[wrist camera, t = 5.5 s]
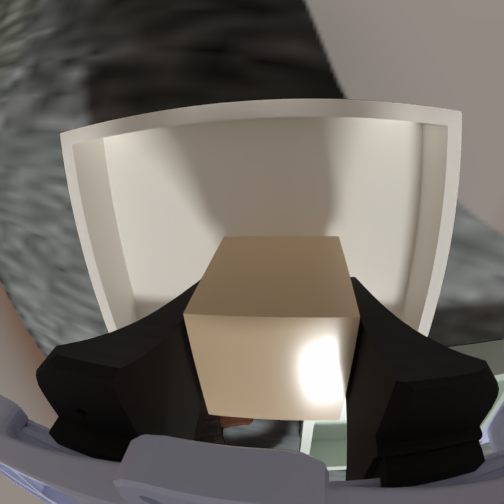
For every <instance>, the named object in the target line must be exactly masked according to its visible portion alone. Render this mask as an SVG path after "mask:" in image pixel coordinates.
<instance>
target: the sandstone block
mask: <svg viewBox="0 0 504 504" xmlns="http://www.w3.org/2000/svg"><path fill="white" fill-rule="evenodd" d="M183 315H184V320H185V324H186V328H187V333H188V337H189V341H190V345H191V349H192V354H193V358H194V362H195V365H196V369H197V373H198V377H199V381H200V385H201V388H202V392H203V396H204V399H205V403H206V406H207V410H208V413H209V414H210V415H219V416H229V417H240V418H254V419H271V420H339V419H340V415H341V411H342V407H343V403H344V399H345V394H346V390H347V385H348V381H349V376H350V371H351V366H352V361H353V356H354V351H355V345H356V339H357V334H358V328H359V321H360V314H359V310H358V306H357V302H356V298H355V294H354V290H353V286H352V282H351V278H350V275H349V271H348V267H347V264H346V260H345V256H344V253H343V249H342V246H341V242H340V239H339V236H241V237H223V239H222V241H221V243H220V245H219V246H218V248H217V250H216V252H215V254H214V256H213V258H212V259H211V261H210V263H209V265H208V267H207V269H206V271H205V273H204V275H203V276H202V278H201V280H200V282H199V284H198V286H197V288H196V290H195V292H194V294H193V295H192V297H191V299H190V301H189V303H188V305H187V307H186V309H185V311H184V313H183Z"/></svg>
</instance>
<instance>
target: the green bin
mask: <svg viewBox="0 0 504 504" xmlns="http://www.w3.org/2000/svg"><path fill="white" fill-rule="evenodd" d="M448 348H451V349H453V350H455V351H458V352H460V353H463V354H466V355H469V356H473V357H476V358H479V359H482V360H485V361H486V362H487V363H488V365H489V367H490V369H491V371H492V373H493V374H494V376H495V378H496V380H497V382H498V386H499V393H498V397H497V399H496V401H495V403H494V405H493V407H492V408H491V410H490V411H489V413H488V414H487V416H486V417H485V419H484V420H483V422H482V423H481V425H480V428H481V431H483V430H484V429H485V427H486V426H487V425H488V423H489V422H490V420H491V419H492V417H493V416H494V415H495V413H496V412H497V410H498V409H499V407H500V406H501V404H502V403H503V401H504V339H503V340H497V341H490V342H483V343H476V344H469V345H461V346H452V347H448ZM299 452H303V453H306V454H308V455H310V456H312V457H314V458H316V459H319V460H321V461H322V462H324V463H325V464H326V467H327V470H344V469H346V466H347V416H346V397H345V399H344V403H343V407H342V411H341V415H340V419H339V420H302V421H301V431H300V445H299Z"/></svg>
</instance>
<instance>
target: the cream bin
mask: <svg viewBox="0 0 504 504" xmlns="http://www.w3.org/2000/svg"><path fill="white" fill-rule="evenodd" d="M60 137H61V144H62V152H63V159H64V165H65V171H66V177H67V183H68V188H69V194H70V199H71V203H72V208H73V213H74V217H75V222H76V226H77V230H78V234H79V238H80V242H81V246H82V250H83V254H84V257H85V261H86V265H87V268H88V272H89V275H90V278H91V282H92V285H93V288H94V291H95V294H96V297H97V300H98V303H99V306H100V309H101V312H102V315H103V318H104V321H105V324H106V326H107V329H108V332H109V333H110V332H113V331H115V330H118V329H120V328H123V327H125V326H127V325H130V324H132V323H134V322H136V321H138V320H140V319H142V318H144V317H146V316H148V315H150V314H151V313H153V312H155V311H156V310H158V309H159V308H161V307H162V306H164V305H166V304H167V303H169V302H170V301H172V300H173V299H175V298H176V297H177V296H179V295H180V294H182V293H183V292H184V291H186V290H187V289H188V288H190V287H191V286H192V285H194V284H195V283H197V282H198V281H199V280H201V278H202V276H203V275H204V273H205V271H206V269H207V267H208V265H209V263H210V261H211V259H212V258H213V256H214V254H215V252H216V250H217V248H218V246H219V245H220V243H221V241H222V239H223V237H241V236H339V239H340V242H341V246H342V249H343V253H344V256H345V260H346V264H347V267H348V271H349V275H350V277H356V278H357V279H358V280H359V281H360V283H361V284H362V285H363V286H364V287H365V288H366V289H367V290H368V291H369V292H370V293H371V294H372V295H373V296H374V297H375V298H376V299H377V300H378V301H379V302H380V303H381V304H382V305H384V306H385V307H386V308H387V309H388V310H389V311H390V312H392V313H393V314H394V315H395V316H396V317H398V318H399V319H400V320H402V321H403V322H404V323H406V324H407V325H409V326H410V327H412V328H413V329H415V330H416V331H418V332H419V333H421V334H423V335H425V336H426V337H428V334H429V331H430V327H431V324H432V320H433V317H434V313H435V310H436V306H437V302H438V298H439V295H440V290H441V286H442V282H443V278H444V273H445V269H446V264H447V259H448V254H449V249H450V243H451V237H452V231H453V225H454V218H455V211H456V203H457V195H458V185H459V174H460V159H461V137H462V112H461V111H456V110H450V109H443V108H436V107H429V106H422V105H413V104H404V103H395V102H384V101H370V100H352V99H271V100H252V101H238V102H226V103H216V104H207V105H198V106H190V107H183V108H176V109H169V110H163V111H157V112H151V113H145V114H140V115H135V116H130V117H125V118H120V119H115V120H111V121H106V122H102V123H98V124H94V125H89V126H85V127H82V128H78V129H74V130H70V131H67V132H63V133H60Z"/></svg>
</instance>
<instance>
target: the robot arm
mask: <svg viewBox="0 0 504 504" xmlns="http://www.w3.org/2000/svg"><path fill="white" fill-rule="evenodd" d="M350 278H351V282H352V286H353V290H354V294H355V298H356V302H357V306H358V310H359V314H360V321H359V328H358V334H357V339H356V345H355V351H354V356H353V361H352V366H351V371H350V376H349V381H348V385H347V390H346V394H345V397H346V416H347V466H346V481H331V482H329V472H328V470H327V467H326V464H325V463H324V462H322V461H321V460H319V459H316V458H314V457H312V456H310V455H308V454H306V453H303V452H295V451H288V450H282V449H267V448H252V447H240V446H230V445H222V444H214V443H206V442H199V441H194V435H195V430H196V425H197V421H198V416H199V412H200V407H201V403H202V399H203V392H202V388H201V385H200V381H199V377H198V373H197V369H196V365H195V362H194V358H193V354H192V349H191V345H190V341H189V337H188V333H187V328H186V324H185V320H184V315H183V313H184V311H185V309H186V307H187V305H188V303H189V301H190V299H191V297H192V295H193V294H194V292H195V290H196V288H197V286H198V284H199V282H200V280H199V281H198V282H197V283H195V284H194V285H192V286H191V287H190V288H188V289H187V290H186V291H184V292H183V293H182V294H180V295H179V296H177V297H176V298H175V299H173V300H172V301H170V302H169V303H167V304H166V305H164V306H162V307H161V308H159V309H158V310H156V311H155V312H153V313H151V314H150V315H148V316H146V317H144V318H142V319H140V320H138V321H136V322H134V323H132V324H130V325H127V326H125V327H123V328H120V329H118V330H115V331H113V332H110V333H107V334H104V335H101V336H98V337H95V338H91V339H88V340H84V341H79V342H74V343H70V344H64V345H59V346H56V347H55V348H54V349H53V350H52V352H51V353H50V354H49V355H48V357H47V358H46V359H45V360H44V362H43V363H42V364H41V365H40V367H39V368H38V369H37V371H36V378H37V381H38V385H39V387H40V388H41V390H42V392H43V394H44V395H45V397H46V398H47V400H48V401H49V403H50V404H51V406H52V407H53V409H54V410H55V412H56V413H57V414H58V416H59V417H58V419H57V420H56V422H55V423H54V425H53V426H52V428H51V429H49V428H47V427H45V426H42V425H40V424H38V423H36V422H34V421H32V420H29V419H28V417H27V415H26V414H25V412H24V411H23V410H22V409H21V407H19V406H18V405H17V404H16V403H14V402H13V401H11V400H9V399H7V398H5V397H3V396H1V395H0V472H1V473H2V474H3V475H4V476H5V477H7V478H8V479H10V480H11V481H13V482H14V483H15V484H17V485H18V486H20V487H22V488H23V489H25V490H26V491H28V492H29V493H31V494H32V495H34V496H36V497H37V498H39V499H40V500H42V501H44V502H45V503H47V504H504V401H503V403H502V404H501V406H500V407H499V409H498V410H497V412H496V413H495V415H494V416H493V417H492V419H491V420H490V422H489V423H488V425H487V426H486V427H485V429H484V430H483V431H481V428H480V425H481V423H482V422H483V420H484V419H485V417H486V416H487V414H488V413H489V411H490V410H491V408H492V407H493V405H494V403H495V401H496V399H497V397H498V393H499V386H498V382H497V380H496V378H495V376H494V374H493V373H492V371H491V369H490V367H489V365H488V363H487V362H486V361H485V360H482V359H479V358H476V357H473V356H469V355H466V354H463V353H460V352H458V351H455V350H453V349H451V348H448V347H446V346H444V345H442V344H440V343H437V342H435V341H434V340H432V339H430V338H428V337H426V336H425V335H423V334H421V333H419V332H418V331H416V330H415V329H413V328H412V327H410V326H409V325H407V324H406V323H404V322H403V321H402V320H400V319H399V318H398V317H396V316H395V315H394V314H393V313H392V312H390V311H389V310H388V309H387V308H386V307H385V306H384V305H382V304H381V303H380V302H379V301H378V300H377V299H376V298H375V297H374V296H373V295H372V294H371V293H370V292H369V291H368V290H367V289H366V288H365V287H364V286H363V285H362V284H361V283H360V281H359V280H358V279H357V278H356V277H350ZM487 442H490V445H491V448H492V451H493V454H489V455H486V456H484V455H483V452H482V448H481V445H480V444H484V443H487Z"/></svg>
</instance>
